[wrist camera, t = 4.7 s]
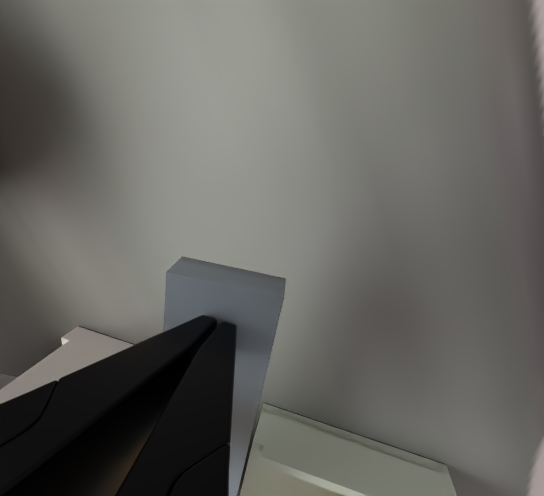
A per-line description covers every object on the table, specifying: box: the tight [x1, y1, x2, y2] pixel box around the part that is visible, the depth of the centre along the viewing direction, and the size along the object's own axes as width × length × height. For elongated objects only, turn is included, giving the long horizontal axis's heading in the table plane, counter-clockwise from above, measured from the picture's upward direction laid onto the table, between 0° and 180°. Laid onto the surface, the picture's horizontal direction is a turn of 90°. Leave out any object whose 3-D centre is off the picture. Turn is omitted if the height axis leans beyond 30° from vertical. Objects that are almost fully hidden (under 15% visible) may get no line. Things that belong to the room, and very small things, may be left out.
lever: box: [0, 257, 286, 496], centre depth 11 cm, size 18×15×5 cm
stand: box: [0, 327, 133, 404], centre depth 14 cm, size 12×4×6 cm, turn 169°
